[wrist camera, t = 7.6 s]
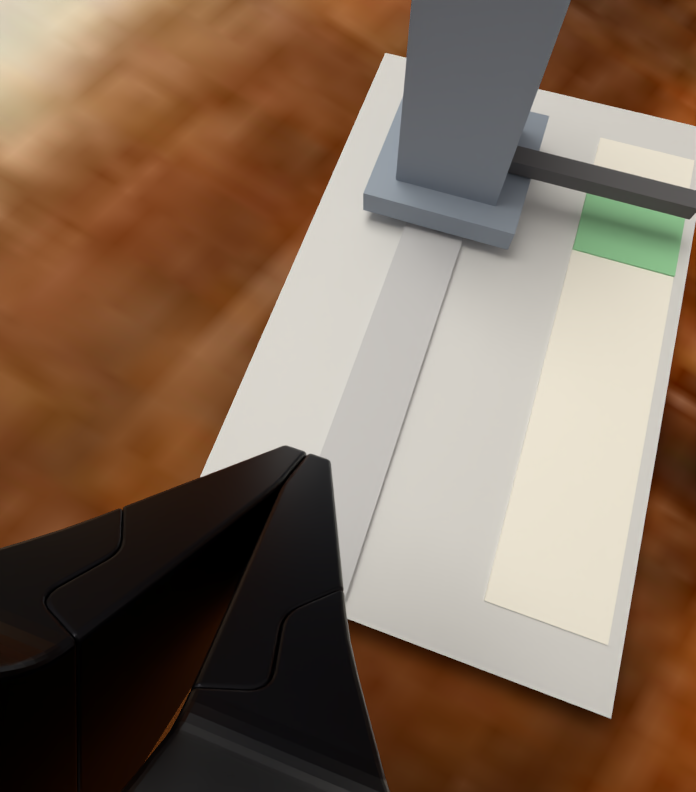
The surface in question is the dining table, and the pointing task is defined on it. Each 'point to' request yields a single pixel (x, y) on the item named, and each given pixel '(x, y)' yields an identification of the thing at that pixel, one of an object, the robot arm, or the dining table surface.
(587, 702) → the gauge board
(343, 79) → the dining table surface
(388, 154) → the tuning slider
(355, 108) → the dining table surface
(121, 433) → the dining table surface
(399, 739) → the dining table surface
